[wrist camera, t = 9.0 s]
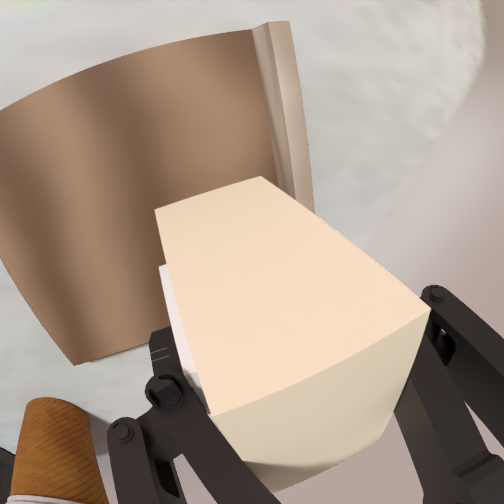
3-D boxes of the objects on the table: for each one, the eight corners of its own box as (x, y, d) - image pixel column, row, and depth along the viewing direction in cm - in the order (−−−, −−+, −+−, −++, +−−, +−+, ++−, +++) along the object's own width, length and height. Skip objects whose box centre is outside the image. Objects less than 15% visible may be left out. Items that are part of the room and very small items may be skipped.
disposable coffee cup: (-8, 399, 18) (-16, 516, 8) (58, 373, 19) (60, 519, 9) (57, 445, 23) (67, 544, 13) (124, 426, 24) (147, 539, 15)
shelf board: (75, 350, 19) (72, 388, 16) (-35, 137, 10) (-67, 150, 7) (297, 271, 22) (322, 299, 19) (262, 31, 14) (293, 20, 11)
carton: (154, 209, 13) (212, 417, 5) (262, 175, 14) (433, 306, 6) (202, 334, 17) (268, 495, 9) (282, 303, 18) (380, 439, 10)
